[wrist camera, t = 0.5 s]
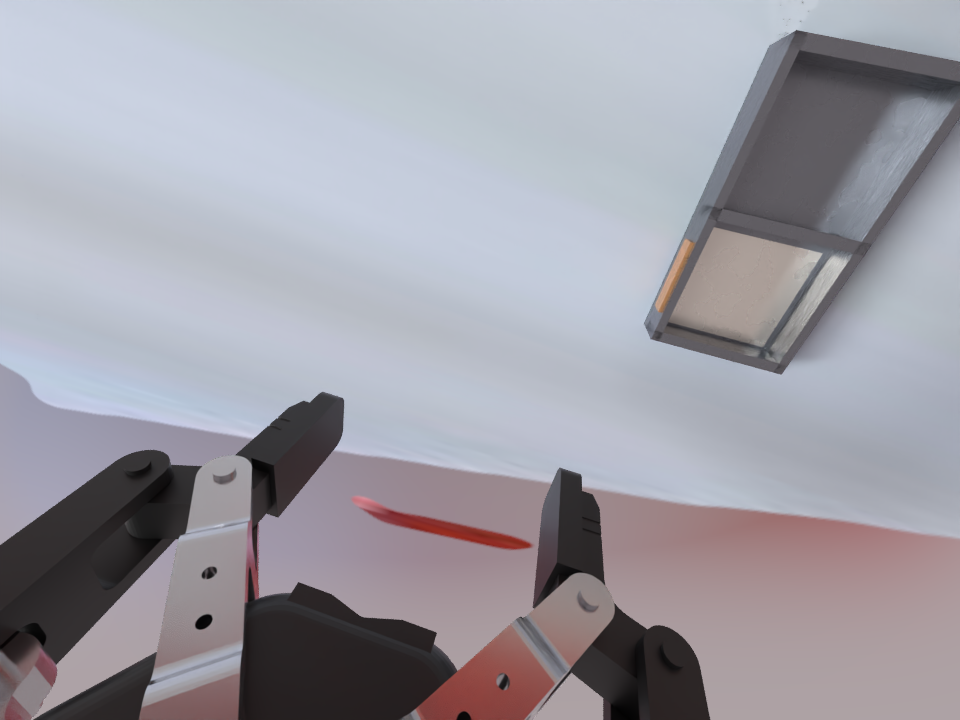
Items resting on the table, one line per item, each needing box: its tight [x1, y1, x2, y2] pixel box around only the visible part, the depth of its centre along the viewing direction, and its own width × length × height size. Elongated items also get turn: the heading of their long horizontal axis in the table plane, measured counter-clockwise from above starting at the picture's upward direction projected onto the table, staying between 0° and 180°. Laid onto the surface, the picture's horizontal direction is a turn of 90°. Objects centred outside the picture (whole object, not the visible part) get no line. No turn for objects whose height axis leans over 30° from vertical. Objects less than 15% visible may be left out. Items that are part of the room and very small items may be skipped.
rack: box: [644, 30, 960, 374], centre depth 35 cm, size 25×14×4 cm, turn 168°
